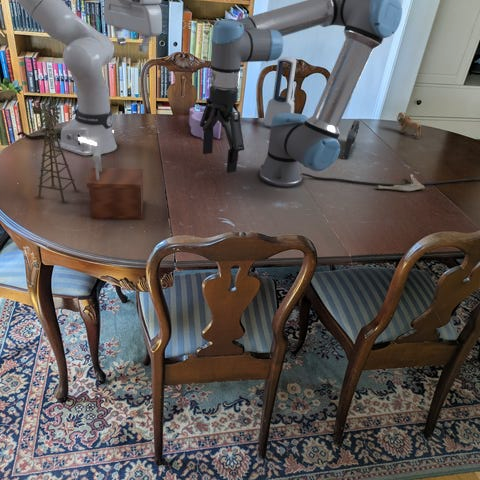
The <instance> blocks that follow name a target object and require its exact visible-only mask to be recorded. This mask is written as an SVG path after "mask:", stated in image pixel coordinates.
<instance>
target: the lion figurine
mask: <svg viewBox="0 0 480 480" xmlns="http://www.w3.org/2000/svg"><path fill="white" fill-rule="evenodd" d="M396 121H397V122H398V123H399V126H401V130H400V131H399V132H400V133H401V134H403V133H404V132H406V129H410V130H411V129H413V131H414V133H413V136H414V138H415V139H418V138H419V136H420V137H421V136H422V137H421V138H422V139H423V138H424V136H423V135H422V125H421V123H420V122H419V121H414V120H412V119H411V117H410V116H409V115H408V114H407V113H406V112H403V111H402V112H398V114H397V117H396ZM416 136H418V137H416Z"/></svg>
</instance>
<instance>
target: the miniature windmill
mask: <svg viewBox="0 0 480 480" xmlns="http://www.w3.org/2000/svg"><path fill="white" fill-rule="evenodd" d="M55 98H56V97H55V96H53V95H51V96H50V95H48V98H47V97H45V101H43V104H44V105H41V106H42V107H38V106H35V105H31V107H32V114H33V115H41V119H42V121H41V122H42V124H43V126H44V128H43V129H41V130H39V133H43V134H44V135H45V137H44V138H42V140H43V146H42V148H43V150H42V154H41V157H42V158H41V162H40V164H41V166H40V175H39V177H38V179H39V184H38V185H37V187H38V196H37V197H38V198H41V197H42V188H44V189H49V190H55V191H59V193H60V198H61V202H62V203H63V202H65V197H64V192H63V191H64V190H65V189H66V188H67V187H68V186H70V185H72V187H73V190H74V191H75V192H77V191H78V189H77V186H76V183H75V181H76V180H75V179H74V178H73V176H72V175H73V174H72V173H71V169H70V167H69V166H70V164H69V163H68V161H67V159H66V156H65V154H64V150H63V149H62V148H61V146H60V143H59V140H58V139H59V138H57V135H56V133H58V132H59V131H61V130H62V129H61V127H59V128H58V127H57V128H56V126H57V124H58V123H59V121H58V120H60V116H59V115H60V113H61V111H58V110H60V106H59V102H57V101H58V99H57V98H56V99H55ZM58 106H59V107H58ZM52 134H54V136H53V137H52ZM47 136H48V137H47ZM47 138H49V139H47ZM52 138H53V139H52ZM56 141H57V143H58V146H59V147H58V149H56V148H55V142H56ZM47 146H49V150H46V149H47ZM56 152H58V154H56ZM59 156H61V157H62V159H63V162H58V160H57V158H58V157H59ZM46 157H47V158H46ZM53 159H54V161H53ZM48 160H50V161H49V162H50V163H48V164H47V165H45V162H47V161H48ZM54 164H55V170H54ZM59 165H60V166H61V165H62V166H64V167H62V168H61V169H60V170H59ZM49 166H50V169H46V168H48V167H49ZM64 170H67V172H68V176H69V178H68V177H63V176H60V173H61V172H62V171H64ZM48 173H50V176H49V177H47V178H46V179H45V180H44V181H43V177H44V176H46V175H47V174H48ZM54 173H55V174H56V175H54ZM55 178H56V179H57V181H58V182H57V183H58V187H59V188H57V187H55ZM50 179H51V186H46V185H45V186H44V184H45V183H46V182H47V181H48V180H49V181H50ZM61 179H62V180H67V181H70V182H69V183H67V184H66V185H65V186H63V185H62V182H61ZM62 186H63V187H62Z"/></svg>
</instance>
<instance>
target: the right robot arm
mask: <svg viewBox="0 0 480 480" xmlns="http://www.w3.org/2000/svg"><path fill="white" fill-rule="evenodd" d="M402 16H403V7H402V1H401V0H303V1H300V2H296V3H293V4H289V5H286V6H282V7H279V8H275V9H271V10H268V11H264V12H261V13H257V14H254V15H250V16H246V17H243V18H239V19H233V18H223V19H220V20H217V21H215V22H214V23H213V25H212V26H213V28H212V34H211V53H210V55H211V56H210V74H209V77H210V78H209V84H210V86H209V91H208V92H209V94H208V97H207V98H206V102H205V106H204V108H205V110H204V113H203V116H202V118H201V121H200V127H203V131H204V140H203V144H202V145H203V146H202V154H203V155H208V154H213V148H214V147H213V145H214V137H213V130H214V129H213V127H214V126H215V124H216V123H217V122H218V121H219V122H220V123H221V128H223V129H224V132H225V136H226V139H227V143H228V146H229V149H227V160H226V161H227V162H226V173H227V174H230V173H236V172H237V170H238V169H237V168H238V161H239V153H240V151H242V152H243V151H244V150H245V143H244V136H243V131H242V124H241V112H240V111H234V105H236V104H237V103H238V99H239V86H240V78H241V77H240V76H241V68H242V67H241V65H242V63H253V62H255V63H256V62H257V63H258V62H266V63H268V62H271V61H276V60H277V61H278V60H279V59H280V58H281V57H282V54H283V53H284V44H285V43H284V38H283V37H285V36H288V35H292V34H295V33H298V32H302V31H305V30H309V29H311V28H314V27H318V26H320V27H322V28H327V27H331V26H339V27H344V29H343V34H344V36H345V39H344V42H343V44H342V46H341V49H340V51H339V53H338V55H337V58H336V61H335V63H334V66H333V68H332V70H331V72H330V74H329V77H328V79H327V81H326V84H325V86H324V88H323V91H322V93H321V96H320V98H319V101H318V103H317V104H316V107H315V110H314V112H313V114H312V116H310V117H307V116H306V115H304V114H301V113H297V112H296V113H295V112H294V113H281V114H277V115H275V116H274V117H273V119H272V124H271V127H270V130H269V140H268V148H267V154H266V158H265V159H264V162H263V164H262V165H261V167H260V170H259V178H260V180H262V181H263V182H264V183H266V184H268V185H271V186H274V187H278V188H293V187H297V186H299V185H300V184H302V181H303V176H305V177H307V178H310V179H311V178H312V179H315V180H320V181H321V180H324V181H338V182H345V183H352V184H359V185H360V184H362V185H370V186H378V185H380V186H387V187H393V186H394V185H409V184H410V185H411V183H381V182H368V181H360V180H352V179H344V178H335V177H322V176H315V175H312V174H310V173H309V174H308V173H306V172H305V173H304V172H303V170H302V166H304V167H305V168H307V169H309V170H311V171H313V172H323V171H324V170H326V169H328V168H330V167H331V166H332V165H333V164H335V162H336V161H337V159H339V158H338V157H339V156H340V154H341V153H340V152H341V144H340V142H339V140H338V139H339V137H340V134H341V132H340V129H339V125H340V123H341V121H342V119H343V116H344V115H345V112H346V110H347V107H348V105H349V103H350V101H351V98H352V97H353V94H354V92H355V90H356V88H357V86H358V83H359V81H360V80H361V77H362V74H363V72H364V70H365V68H366V66H367V63H368V61H369V59H370V57H371V55H372V53H373V50H374V49H375V50H376V48H379V47H381V45H382V43H383V42H384V39H387V38H390V37H391V36H392V35H394V34H395V33H396V32H397V30H398V28H399V26H400V24H401V21H402ZM205 121H206V122H205ZM473 181H480V178H477V177H476V178H461V179H450V180H441V181H432V182H431V181H430V182H420V183H421V184H422V185H424V186H428V185H429V186H430V185H440V184H448V183H457V182H458V183H459V182H473Z"/></svg>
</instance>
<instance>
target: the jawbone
mask: <svg viewBox="0 0 480 480" xmlns="http://www.w3.org/2000/svg"><path fill="white" fill-rule="evenodd" d="M409 179H410V183H408V184H409V185H394V186H384V185H376V188H377V189H380V190H391V191H400V192H409V193H410V192H415V191H419V190H425V189H426V187H425V185H422V184H421V183H422V182H419V181H418V179H417V177H415V176H414V174H413V173H410V174H409ZM410 184H411V185H410Z"/></svg>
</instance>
